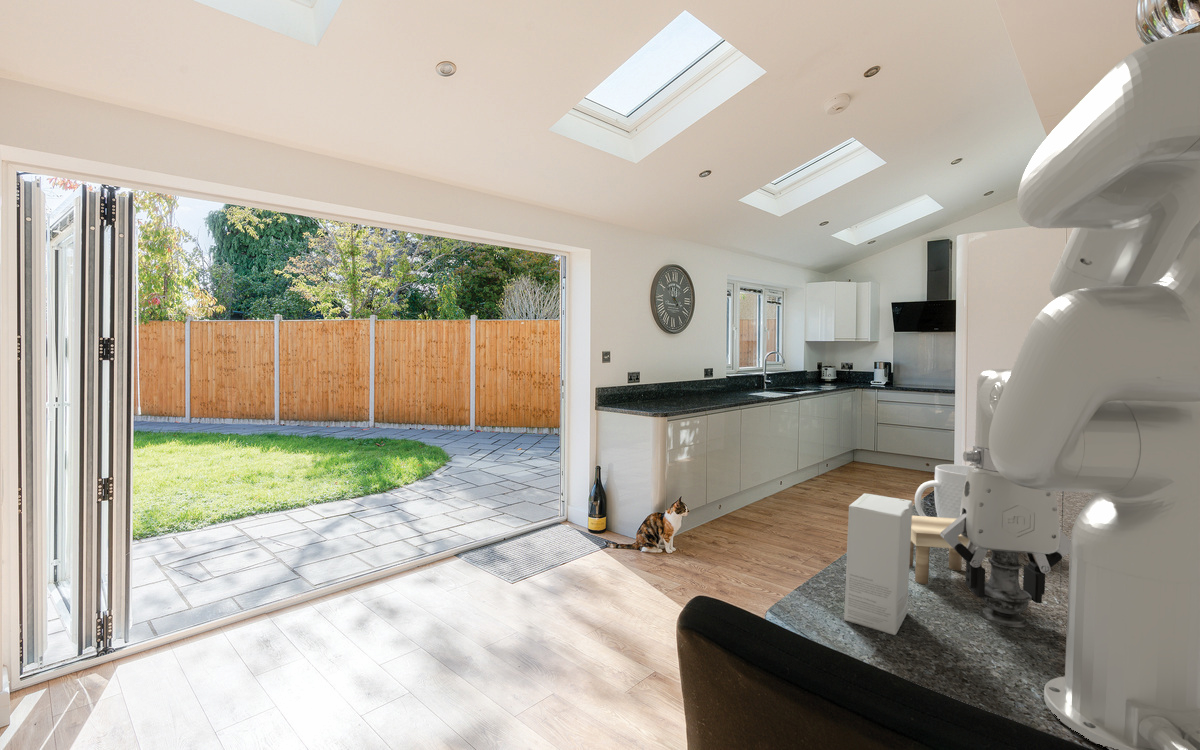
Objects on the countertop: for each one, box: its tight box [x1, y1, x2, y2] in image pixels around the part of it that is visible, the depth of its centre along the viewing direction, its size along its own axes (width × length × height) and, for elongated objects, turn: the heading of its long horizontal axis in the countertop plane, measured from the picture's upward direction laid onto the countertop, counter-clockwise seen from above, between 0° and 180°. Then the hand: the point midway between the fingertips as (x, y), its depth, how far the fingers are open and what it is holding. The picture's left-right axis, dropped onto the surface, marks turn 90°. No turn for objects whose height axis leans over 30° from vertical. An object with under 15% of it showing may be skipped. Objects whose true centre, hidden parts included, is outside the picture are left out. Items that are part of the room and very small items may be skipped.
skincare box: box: [843, 493, 913, 636], centre depth 73 cm, size 8×7×16 cm
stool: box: [909, 515, 991, 585], centre depth 88 cm, size 10×10×8 cm
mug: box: [914, 463, 974, 519], centre depth 108 cm, size 15×11×13 cm
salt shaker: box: [978, 550, 1032, 628], centre depth 73 cm, size 6×6×12 cm
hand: (1003, 594), depth 74 cm, fingers closed on salt shaker, 5 cm apart
